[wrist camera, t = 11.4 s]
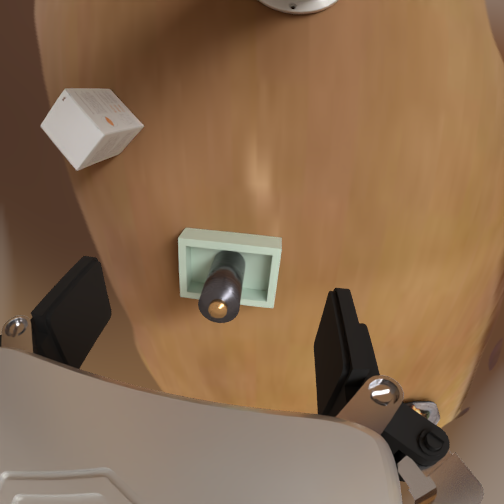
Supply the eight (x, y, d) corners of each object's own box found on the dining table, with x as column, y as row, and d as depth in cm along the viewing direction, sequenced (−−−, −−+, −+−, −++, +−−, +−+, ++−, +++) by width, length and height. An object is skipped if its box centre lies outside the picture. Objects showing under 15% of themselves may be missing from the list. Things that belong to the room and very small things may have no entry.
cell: (212, 248, 41) (195, 291, 31) (245, 250, 41) (238, 294, 31) (213, 277, 43) (198, 325, 33) (245, 279, 43) (238, 328, 33)
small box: (86, 117, 35) (38, 125, 25) (110, 87, 33) (63, 86, 24) (119, 155, 37) (75, 173, 28) (146, 126, 35) (104, 134, 26)
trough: (185, 227, 41) (178, 237, 38) (281, 237, 41) (281, 249, 37) (186, 283, 45) (180, 296, 42) (273, 294, 45) (273, 308, 41)
